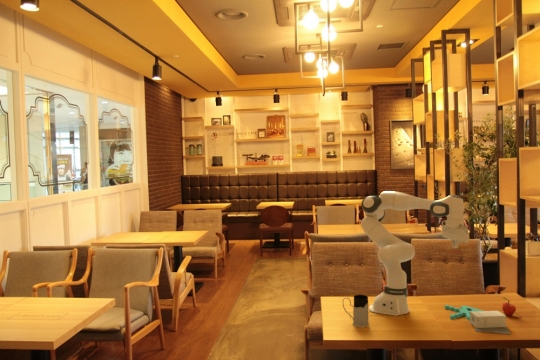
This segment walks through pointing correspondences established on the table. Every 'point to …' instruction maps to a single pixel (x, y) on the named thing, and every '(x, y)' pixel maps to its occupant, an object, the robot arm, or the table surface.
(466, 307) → the alien figure
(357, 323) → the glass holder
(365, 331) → the table surface
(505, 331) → the mat
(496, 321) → the skincare box
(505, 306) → the apple
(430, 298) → the table surface
